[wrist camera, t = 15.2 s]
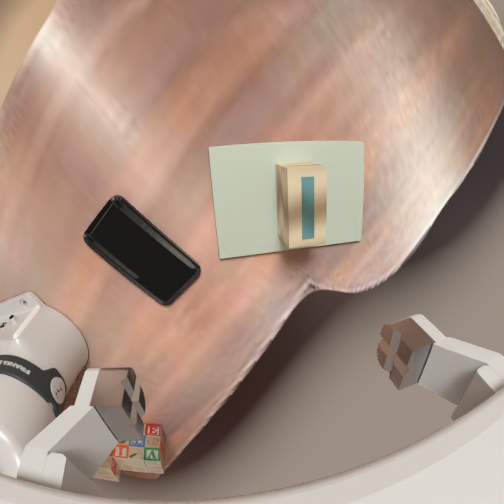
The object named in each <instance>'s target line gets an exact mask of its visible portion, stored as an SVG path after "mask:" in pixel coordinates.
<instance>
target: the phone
mask: <svg viewBox="0 0 504 504" xmlns="http://www.w3.org/2000/svg"><path fill="white" fill-rule="evenodd" d="M84 241H85V243H86V244H87V245H88V246H89V247H91V248H92V249H93V250H94V251H95V252H96V253H98V254H99V255H100V256H101V257H102V258H103V259H105V260H106V261H107V262H108V263H109V264H111V265H112V266H113V267H114V268H115V269H117V270H118V271H119V272H120V273H122V274H123V275H124V276H125V277H126V278H128V279H129V280H130V281H131V282H133V283H134V284H135V285H136V286H138V287H139V288H140V289H142V290H143V291H144V292H145V293H147V294H148V295H149V296H151V297H152V298H153V299H155V300H156V301H157V302H159V303H160V304H162V305H169V304H171V303H172V302H173V301H174V300H175V299H176V298H177V297H178V296H179V295H180V294H181V293H182V292H183V291H184V290H185V289H186V288H187V287H188V286H189V285H190V284H191V283H192V282H193V281H194V280H195V279H196V278H197V277H198V276H199V275H200V265H199V264H198V263H197V262H196V261H195V260H194V259H193V258H191V257H190V256H189V255H188V254H187V253H186V252H184V251H183V250H182V249H181V248H180V247H179V246H177V245H176V244H175V243H174V242H173V241H172V240H170V239H169V238H168V237H167V236H166V235H165V234H164V233H162V232H161V231H160V230H159V229H158V228H157V227H156V226H154V225H153V224H152V223H151V222H150V221H149V220H148V219H146V218H145V217H144V216H143V215H142V214H141V213H140V212H139V211H138V210H136V209H135V208H134V207H133V206H132V205H131V204H130V203H129V202H128V201H126V200H125V199H124V198H123V197H122V196H119V195H117V196H113V197H112V198H111V199H110V200H109V201H108V202H107V203H106V205H105V206H104V207H103V209H102V210H101V211H100V212H99V214H98V215H97V216H96V218H95V219H94V220H93V222H92V223H91V224H90V226H89V227H88V228H87V230H86V231H85V233H84Z"/></svg>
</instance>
